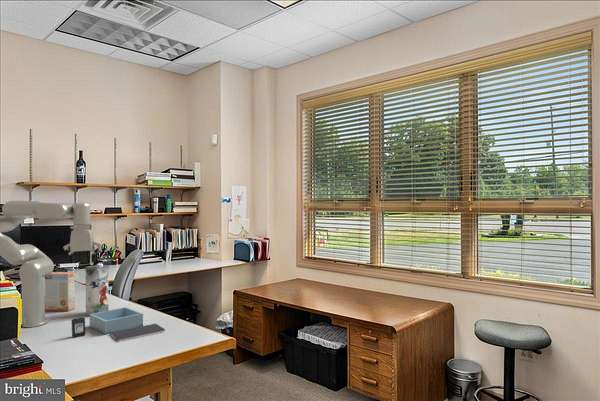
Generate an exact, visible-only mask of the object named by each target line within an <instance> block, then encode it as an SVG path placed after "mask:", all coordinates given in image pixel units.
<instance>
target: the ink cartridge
mask: <svg viewBox="0 0 600 401" xmlns="http://www.w3.org/2000/svg"><path fill="white" fill-rule="evenodd" d="M84 336H86V319H85V317H78V318H73V319H71V337H72V338H75V339H76V338H80V337H84Z"/></svg>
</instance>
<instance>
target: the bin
mask: <svg viewBox="0 0 600 401" xmlns="http://www.w3.org/2000/svg"><path fill="white" fill-rule="evenodd" d="M140 326H144V313H143V312H141V311H137V310H136V309H132V308H130V307H127V306H124V307H119V308H114V309H110V310H109V309H108V311H103V312H98V313H93V314H90V315H89V328H91V329H94V330H96V331H98V332H99V333H101V334H103V335H105V336H106V335H110V332H115V331H120V330H125V329H130V328H135V327H140Z"/></svg>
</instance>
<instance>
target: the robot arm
mask: <svg viewBox="0 0 600 401" xmlns="http://www.w3.org/2000/svg"><path fill="white" fill-rule="evenodd" d="M1 207H2V208H1V211H2V213H3V215H0V256H1V257H2V258H3V259H4V260H6V262H8V263H9V264H10V265H13V266H18V265H20V267H19V272H18V273H19V278H20V284H21V316H22V326H23V327H22V328H24V327H27V328H35V327H39V326H40V327H41V326H44V325H45V324H48V323H49V319H48V318H46V317H45V316H46V315H45V312H46V311H45V282H44V280H43V277H44V278H45V276H47V275H49V274H50V273H52V272H54V269H55V265H54V262H53V261H52V259H51V258H49V256H47V255H46V253H44V252H43V251H41V250H40V249H39V248H37V247H36V246H34V245H33V244H29V243H28V244H27V243H25V244H19V243H17V242H15V241H14V240H13V239H12V238H11V237H10V236H8V235H6V234H3V233H7V232H10V231H13V230H14V229H16V228H17V227H18V226H20V225H21V224H22V222H24V221H25V220H26V219H51V220H52V219H54V220H55V219H56V220H59V219H71V218H72V225H70V227H69V228H70V229H71V233H70V239H69V240H70V241H69V243H68V244H66V245H64V246H63V249H64V251H65V253H67V254H68V256H69V262H70V264H73V263H75V254H74V253H75V252H88V251H90V253H91V262H92V263H95V262H96V260H97V253H98V252H99V251H100V249H101V247H102V244H101V243H99V242H96V241H95V240H94V233H93V230H92V229H91V206H90V204H89V203H88V202H77V203H74V202H73V203H72V202H50V203H49V202H41V201H38V200H10V201H6V202H5V203H4V204H3V205H2V206H1ZM95 247H96V249H95Z"/></svg>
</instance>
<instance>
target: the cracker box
mask: <svg viewBox="0 0 600 401" xmlns="http://www.w3.org/2000/svg"><path fill="white" fill-rule="evenodd" d="M44 291H45V312H49V311H50V312H70V311H72V310H74V309H75V308H76V306H75V272H74V271H52V273H50V274H49V275H47V276H44Z"/></svg>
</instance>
